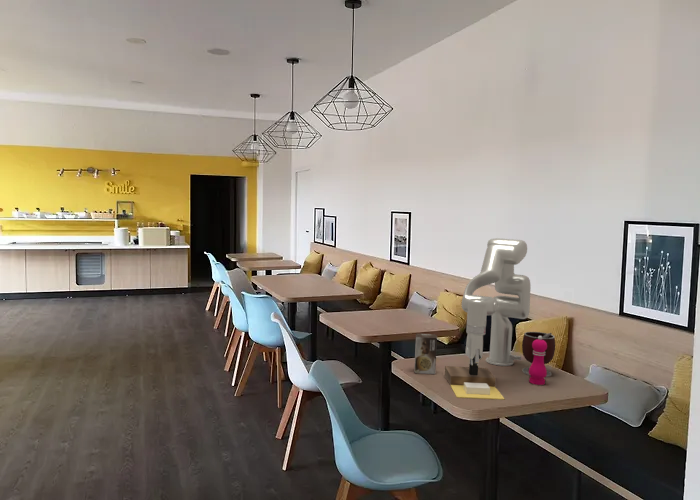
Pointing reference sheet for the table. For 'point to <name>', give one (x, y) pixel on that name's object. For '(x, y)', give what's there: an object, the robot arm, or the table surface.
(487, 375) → the walnut board
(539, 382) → the pepper mill
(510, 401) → the table surface
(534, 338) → the mate gourd
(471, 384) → the white rectangular block
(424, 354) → the coffee box
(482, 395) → the mustard mat
